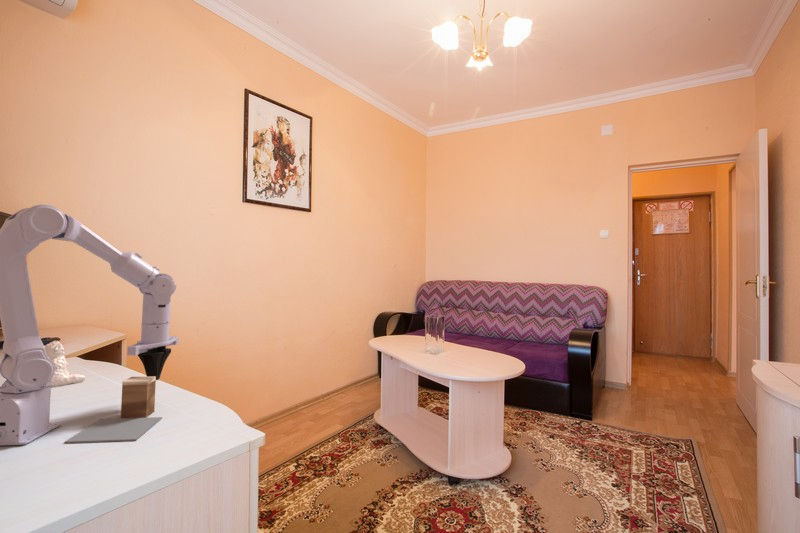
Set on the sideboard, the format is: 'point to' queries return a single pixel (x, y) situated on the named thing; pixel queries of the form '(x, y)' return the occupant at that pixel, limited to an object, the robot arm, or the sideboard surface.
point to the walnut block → (138, 397)
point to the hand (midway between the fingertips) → (153, 379)
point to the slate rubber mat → (115, 430)
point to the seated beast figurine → (60, 366)
